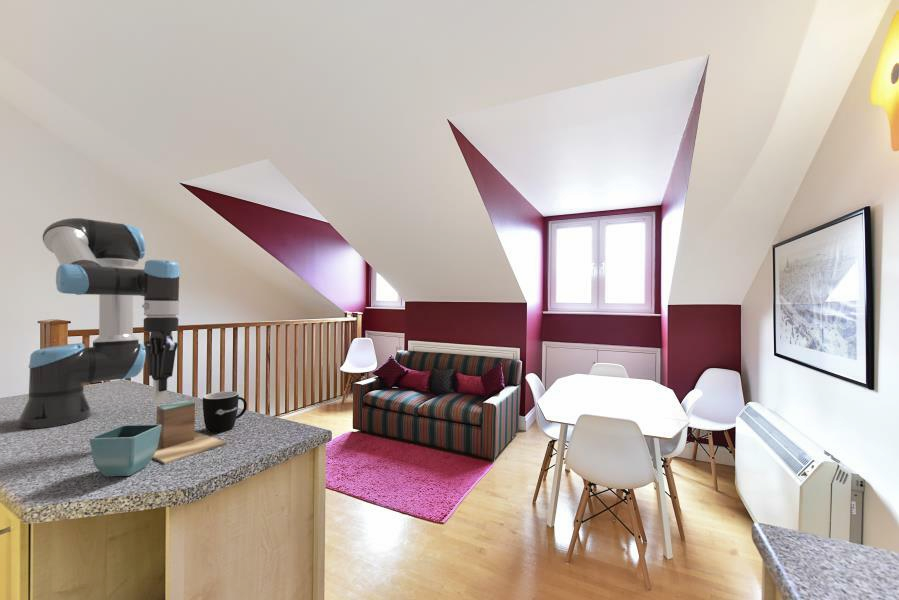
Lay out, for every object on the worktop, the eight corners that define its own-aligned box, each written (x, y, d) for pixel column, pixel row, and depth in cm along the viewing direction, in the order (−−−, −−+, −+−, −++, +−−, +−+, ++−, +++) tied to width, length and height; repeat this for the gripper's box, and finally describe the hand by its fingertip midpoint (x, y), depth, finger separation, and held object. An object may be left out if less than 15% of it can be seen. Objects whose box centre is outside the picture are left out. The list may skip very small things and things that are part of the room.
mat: (130, 448, 92) (130, 446, 92) (191, 431, 104) (191, 430, 104) (164, 464, 83) (164, 461, 83) (226, 444, 96) (226, 442, 96)
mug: (211, 437, 101) (212, 400, 101) (196, 430, 105) (196, 395, 106) (254, 425, 111) (254, 391, 111) (238, 419, 116) (239, 388, 116)
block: (155, 445, 93) (156, 406, 93) (186, 437, 99) (187, 400, 99) (163, 448, 91) (164, 408, 91) (194, 439, 97) (195, 402, 97)
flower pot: (121, 463, 84) (122, 424, 84) (162, 462, 84) (163, 423, 85) (86, 482, 75) (87, 438, 75) (132, 480, 76) (133, 437, 76)
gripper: (133, 316, 100) (132, 402, 99) (156, 317, 93) (154, 409, 93) (165, 316, 106) (164, 396, 106) (189, 316, 100) (187, 402, 99)
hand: (160, 402), depth 99 cm, fingers closed
